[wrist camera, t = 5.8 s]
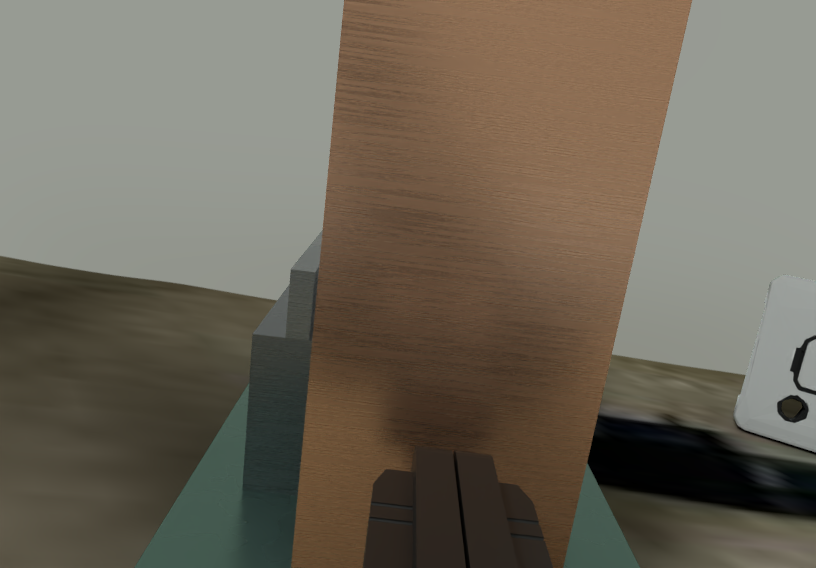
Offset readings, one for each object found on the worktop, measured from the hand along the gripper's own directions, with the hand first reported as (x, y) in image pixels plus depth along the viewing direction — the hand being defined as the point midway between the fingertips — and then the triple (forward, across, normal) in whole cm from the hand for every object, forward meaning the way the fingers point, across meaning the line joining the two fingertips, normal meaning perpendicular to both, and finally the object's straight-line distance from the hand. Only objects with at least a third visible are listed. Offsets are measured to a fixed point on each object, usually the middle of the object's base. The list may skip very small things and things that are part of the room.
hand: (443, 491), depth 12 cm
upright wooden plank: (+7, 0, +6) cm, 9 cm away
